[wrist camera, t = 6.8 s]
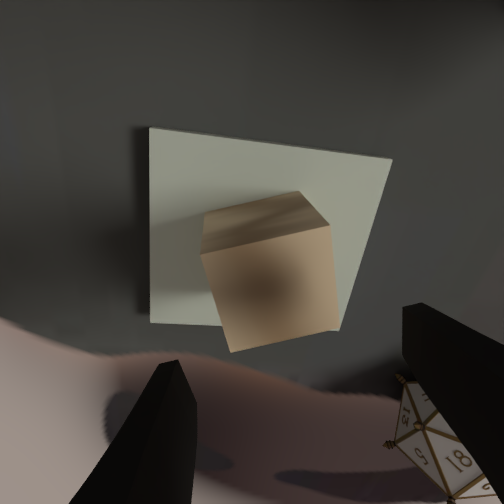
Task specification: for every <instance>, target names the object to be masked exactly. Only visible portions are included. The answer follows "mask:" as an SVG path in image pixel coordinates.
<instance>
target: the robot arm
mask: <svg viewBox="0 0 504 504" xmlns="http://www.w3.org/2000/svg"><path fill="white" fill-rule="evenodd" d="M402 355H403V357H404V359H405V361H406V363H407V365H408V366H409V368H410V370H411V372H412V373H413V375H414V377H415V379H416V380H417V382H418V384H419V385H420V387H421V388H422V390H423V391H424V392H425V394H426V395H427V396H428V398H429V399H430V401H431V402H432V403H433V405H434V406H435V407H436V409H437V410H438V412H439V413H440V414H441V416H442V417H443V418H444V420H445V421H446V422H447V424H448V425H449V427H450V428H451V429H452V431H453V432H454V433H455V435H456V436H457V437H458V439H459V440H460V441H461V443H462V444H463V446H464V447H465V448H466V450H467V451H468V452H469V454H470V455H471V456H472V458H473V459H474V461H475V462H476V464H477V465H478V466H479V468H480V469H481V471H482V472H483V474H484V475H485V477H486V478H487V480H488V482H489V483H490V485H491V487H492V488H493V490H494V491H495V493H496V495H497V496H498V498H499V499H500V501H501V503H502V504H504V345H503V344H501V343H499V342H497V341H495V340H493V339H491V338H489V337H487V336H485V335H483V334H481V333H479V332H477V331H475V330H473V329H471V328H469V327H467V326H466V325H464V324H462V323H460V322H458V321H456V320H454V319H452V318H450V317H449V316H447V315H445V314H443V313H441V312H439V311H437V310H435V309H434V308H432V307H430V306H428V305H426V304H424V303H418V304H413V305H409V306H405V307H403V314H402ZM196 447H197V402H196V400H195V398H194V395H193V393H192V391H191V388H190V386H189V384H188V381H187V379H186V377H185V375H184V372H183V370H182V367H181V365H180V363H179V361H178V360H174V361H170V362H165V363H161V364H159V365H158V367H157V368H156V370H155V371H154V373H153V375H152V377H151V378H150V380H149V382H148V383H147V385H146V387H145V389H144V390H143V392H142V394H141V395H140V397H139V399H138V401H137V402H136V404H135V406H134V407H133V409H132V411H131V412H130V414H129V415H128V417H127V419H126V420H125V422H124V424H123V425H122V427H121V429H120V430H119V432H118V433H117V435H116V436H115V438H114V440H113V441H112V443H111V444H110V446H109V447H108V449H107V450H106V452H105V453H104V455H103V456H102V458H101V459H100V461H99V462H98V464H97V465H96V467H95V468H94V469H93V471H92V472H91V474H90V475H89V477H88V478H87V480H86V481H85V482H84V484H83V485H82V486H81V488H80V489H79V491H78V492H77V493H76V495H75V496H74V497H73V498H72V500H71V501H70V502H69V504H191V498H192V488H193V479H194V469H195V458H196Z"/></svg>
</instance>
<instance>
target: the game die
mask: <svg viewBox="0 0 504 504" xmlns="http://www.w3.org/2000/svg"><path fill="white" fill-rule="evenodd" d="M395 375H396V377H397V380H399V381H400V382H401V383H403V385H404V386H403V392H402V398H401V404H400V410H399V416H398V422H397V427H396V433H395V439H394V441H390V440H389V441H386V442H385V443H384V445H383V446H384V447H386V448H389V449H390V448H392V449H393V447H395V446H396V447H397V448H398V449H400V451H402V452H403V453H404V454H405V455H406V456H407V457H408V458H409V459H410V460H411V461H412V462H413V463H414V464H415V465H416V466H417V467H418V468H419V469H420V470H421V471H422V472H423V473H424V474H425V475H426V476H427V477H428V478H429V479H430V480H431V481H432V482H433V483H434V484H436V485H437V486H438V487H439V488H440V489H441V490H442V491H443V492H444V493H445V494H446V495H447V496H448V497H449V498H448V500H447V504H456V503H455V500H456V499H466V498H476V497H486V496H496V493H495V491H494V490H493V488H492V487H491V485H490V483H489V482H488V480H487V478H486V477H485V475H484V474H483V472H482V471H481V469H480V468H479V466H478V465H477V464H476V462H475V461H474V459H473V458H472V456H471V455H470V454H469V452H468V451H467V450H466V448H465V447H464V446H463V444H462V443H461V441H460V440H459V439H458V437H457V436H456V435H455V433H454V432H453V431H452V429H451V428H450V427H449V425H448V424H447V422H446V421H445V420H444V418H443V417H442V416H441V414H440V413H439V412H438V410H437V409H436V407H435V406H434V405H433V403H432V402H431V401H430V399H429V398H428V396H427V395H426V394H425V392H424V391H423V390H422V388H421V387H420V385H419V384H418V382H417V381H409V382H407V381H406V380H405V377H403V376H402V375H399V374H396V373H395Z"/></svg>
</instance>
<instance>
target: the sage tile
mask: <svg viewBox="0 0 504 504" xmlns="http://www.w3.org/2000/svg"><path fill="white" fill-rule="evenodd" d="M391 163H392V159H389V158H386V157H383V156H375V155H368V154H360V153H353V152H345V151H337V150H330V149H322V148H315V147H307V146H300V145H292V144H284V143H277V142H269V141H262V140H254V139H246V138H239V137H231V136H224V135H216V134H208V133H201V132H193V131H186V130H178V129H170V128H163V127H155V126H153V127H150V128H149V179H150V323H170V324H193V325H216V326H222V324H221V320H220V317H219V314H218V311H217V308H216V304H215V301H214V298H213V295H212V292H211V288H210V285H209V282H208V279H207V276H206V272H205V269H204V266H203V263H202V260H201V256H200V250H201V241H202V233H203V224H204V215H205V212H208V211H212V210H217V209H221V208H226V207H230V206H234V205H239V204H243V203H248V202H252V201H256V200H261V199H265V198H270V197H274V196H278V195H283V194H287V193H292V192H296V191H300V192H301V193H302V194H303V196H304V197H305V198H306V199H307V200H308V201H309V202H310V203H311V204H312V205H313V207H314V208H315V209H316V210H317V211H318V212H319V213H320V214H321V215H322V216H323V218H324V219H325V220H326V221H327V222H328V223H329V224H330V226H331V237H332V247H333V258H334V268H335V279H336V289H337V300H338V310H339V320H340V326H341V323H342V320H343V316H344V313H345V310H346V307H347V304H348V300H349V297H350V294H351V291H352V288H353V285H354V281H355V278H356V275H357V272H358V269H359V265H360V262H361V259H362V256H363V253H364V249H365V246H366V243H367V240H368V237H369V234H370V230H371V227H372V224H373V221H374V218H375V214H376V211H377V208H378V205H379V202H380V198H381V195H382V192H383V189H384V186H385V183H386V179H387V176H388V173H389V170H390V167H391ZM339 329H340V328H337V329H332V330H333V331H339Z"/></svg>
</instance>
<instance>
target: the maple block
mask: <svg viewBox="0 0 504 504" xmlns="http://www.w3.org/2000/svg"><path fill="white" fill-rule="evenodd" d="M200 256H201V260H202V263H203V266H204V269H205V272H206V276H207V279H208V282H209V285H210V288H211V292H212V295H213V298H214V301H215V304H216V308H217V311H218V314H219V317H220V320H221V324H222V327H223V330H224V333H225V336H226V340H227V343H228V346H229V349H230V352H236V351H240V350H244V349H249V348H253V347H258V346H262V345H266V344H271V343H275V342H280V341H284V340H288V339H293V338H297V337H302V336H306V335H310V334H315V333H319V332H324V331H328V330H332V329H337V328H340V320H339V310H338V300H337V289H336V279H335V268H334V258H333V247H332V237H331V226H330V224H329V223H328V222H327V221H326V220H325V219H324V218H323V216H322V215H321V214H320V213H319V212H318V211H317V210H316V209H315V208H314V207H313V205H312V204H311V203H310V202H309V201H308V200H307V199H306V198H305V197H304V196H303V194H302V193H301V192H300V191H296V192H292V193H287V194H283V195H278V196H274V197H270V198H265V199H261V200H256V201H252V202H248V203H243V204H239V205H234V206H230V207H226V208H221V209H217V210H212V211H208V212H205V215H204V224H203V233H202V241H201V250H200Z"/></svg>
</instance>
